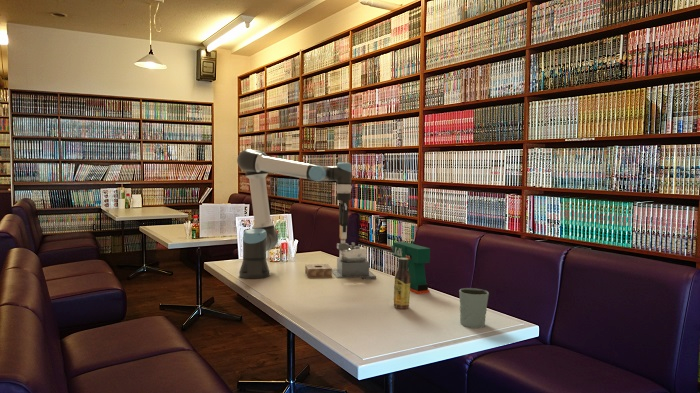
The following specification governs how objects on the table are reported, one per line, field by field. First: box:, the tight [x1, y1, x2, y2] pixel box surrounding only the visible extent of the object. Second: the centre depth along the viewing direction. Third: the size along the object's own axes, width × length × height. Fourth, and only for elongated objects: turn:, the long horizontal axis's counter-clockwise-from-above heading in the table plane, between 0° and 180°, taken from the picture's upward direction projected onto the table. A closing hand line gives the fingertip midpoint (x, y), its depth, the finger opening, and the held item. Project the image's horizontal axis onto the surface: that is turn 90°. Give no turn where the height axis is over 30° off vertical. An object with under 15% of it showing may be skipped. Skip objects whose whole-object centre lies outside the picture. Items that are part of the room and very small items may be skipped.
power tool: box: [389, 241, 431, 295], centre depth 229 cm, size 32×7×20 cm, turn 25°
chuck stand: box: [332, 257, 377, 280], centre depth 250 cm, size 20×20×8 cm
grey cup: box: [458, 287, 490, 329], centre depth 172 cm, size 10×10×12 cm
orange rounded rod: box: [339, 224, 346, 245], centre depth 249 cm, size 4×4×12 cm
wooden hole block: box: [304, 263, 333, 278], centre depth 246 cm, size 12×12×5 cm
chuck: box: [336, 242, 368, 262], centre depth 249 cm, size 15×14×9 cm
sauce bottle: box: [393, 257, 411, 310], centre depth 192 cm, size 7×6×20 cm
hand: (343, 237), depth 249 cm, fingers closed on orange rounded rod, 3 cm apart
